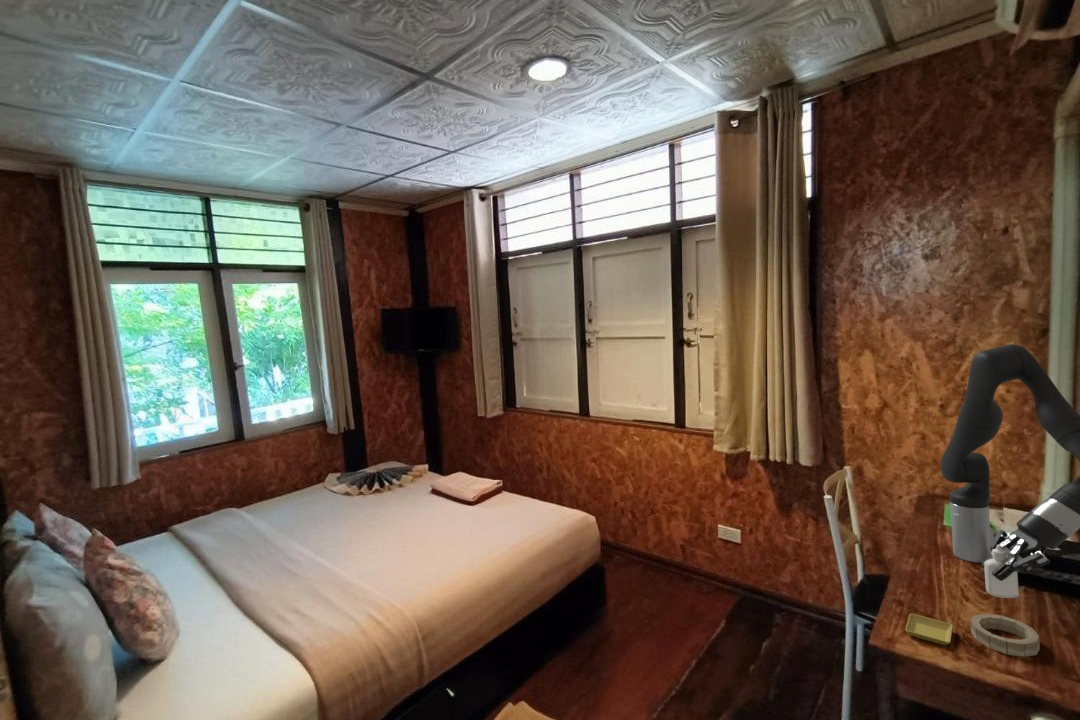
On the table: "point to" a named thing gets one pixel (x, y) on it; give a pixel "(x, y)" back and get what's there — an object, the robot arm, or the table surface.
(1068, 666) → the table surface
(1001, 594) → the eye dropper bottle
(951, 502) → the robot arm
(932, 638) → the yellow square tray
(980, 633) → the birch ring collar
